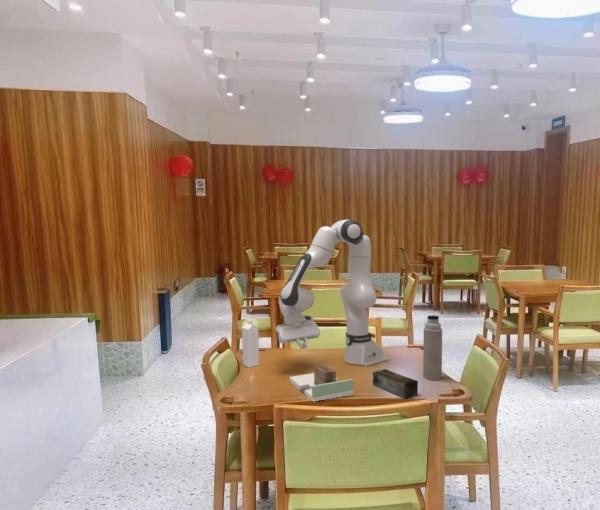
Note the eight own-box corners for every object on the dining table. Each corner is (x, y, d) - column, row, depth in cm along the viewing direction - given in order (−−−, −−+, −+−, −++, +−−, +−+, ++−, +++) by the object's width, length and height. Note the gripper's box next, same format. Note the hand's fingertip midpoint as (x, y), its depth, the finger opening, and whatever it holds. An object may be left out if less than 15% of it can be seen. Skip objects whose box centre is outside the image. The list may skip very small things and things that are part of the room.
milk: (248, 367, 216) (247, 323, 213) (242, 364, 220) (241, 321, 218) (259, 365, 219) (258, 321, 217) (253, 361, 224) (251, 319, 222)
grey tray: (325, 375, 204) (325, 361, 203) (353, 394, 181) (353, 379, 180) (289, 381, 197) (289, 367, 196) (313, 402, 174) (313, 386, 173)
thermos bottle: (423, 373, 204) (424, 313, 202) (441, 375, 202) (442, 314, 199) (422, 379, 197) (423, 317, 194) (441, 381, 194) (442, 318, 192)
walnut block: (324, 382, 190) (324, 363, 189) (335, 390, 181) (335, 371, 180) (314, 384, 188) (314, 365, 187) (324, 392, 179) (324, 373, 178)
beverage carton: (385, 381, 196) (385, 366, 195) (419, 395, 180) (419, 379, 179) (371, 385, 192) (372, 370, 191) (405, 400, 176) (405, 384, 175)
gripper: (276, 321, 206) (284, 347, 198) (315, 316, 214) (325, 341, 206) (273, 329, 210) (281, 354, 202) (311, 323, 218) (321, 347, 210)
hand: (304, 347), depth 204 cm, fingers closed
